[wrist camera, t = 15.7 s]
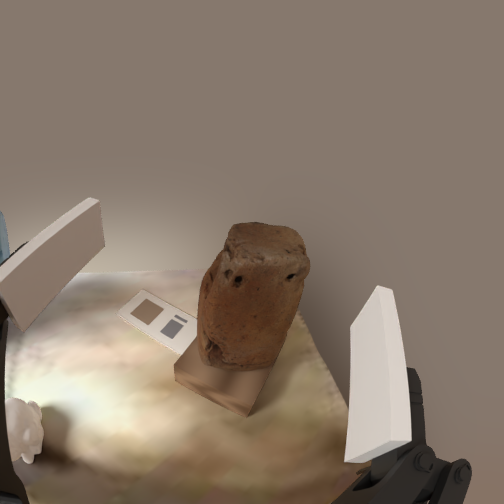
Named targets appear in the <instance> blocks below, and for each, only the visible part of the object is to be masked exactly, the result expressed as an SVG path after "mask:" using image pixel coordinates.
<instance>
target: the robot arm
mask: <svg viewBox="0 0 504 504" xmlns="http://www.w3.org/2000/svg"><path fill="white" fill-rule="evenodd" d="M104 247H105V242H104V236H103V227H102V218H101V208H100V200H96V199H93V198H90V197H89V198H87V199H86V200H84V201H83V202H81V203H80V204H79V205H77V206H76V207H74V208H73V209H71V210H70V211H69V212H67V213H66V214H64V215H63V216H62V217H60V218H59V219H58V220H56V221H55V222H53V223H52V224H51V225H49V226H48V227H47V228H46V229H44V230H43V231H42V232H40V233H39V234H38V235H37V236H35V237H34V238H33V239H32V240H30V241H28V242H26V243H25V244H23V245H21V246H20V247H19V248H18V249H17V250H15V252H13V253H12V254H11V255H10V250H9V242H8V235H7V229H6V224H5V220H4V216H3V214H2V212H0V504H29V501H28V497H27V494H26V490H25V488H24V485H23V483H22V481H21V480H20V479H19V477H18V476H17V475H16V473H15V472H14V469H13V465H12V459H11V454H10V448H9V441H8V433H7V424H6V412H5V354H6V341H7V332H8V321H7V318H8V316H9V317H10V318H11V320H12V322H13V323H14V325H15V326H16V327H17V328H19V329H20V330H21V331H22V332H23V333H24V332H25V331H26V329H27V328H28V327H29V326H30V325H31V323H32V322H33V321H34V320H35V319H36V318H37V316H38V315H39V314H40V313H41V312H42V311H43V309H44V308H45V307H46V306H47V305H48V304H49V303H50V302H51V301H52V299H53V298H54V297H55V296H56V295H57V294H58V293H59V292H60V291H61V290H62V289H63V288H64V287H65V285H66V284H67V283H68V282H69V281H70V280H71V279H72V278H73V277H74V276H75V275H76V274H77V273H78V272H79V271H80V270H81V269H82V268H83V267H84V266H85V265H86V264H87V263H88V262H89V261H90V260H91V259H92V258H93V257H94V256H95V255H96V254H97V253H99V252H100V251H101V250H102V249H103V248H104ZM350 332H351V369H350V373H351V374H350V399H349V400H350V401H349V416H348V430H347V441H346V450H345V459H344V462H353V463H364V462H366V461H369V460H371V459H372V465H371V466H369V467H367V468H364V469H361V470H359V471H358V472H356V474H357V475H358V474H361V473H363V474H362V475H361V476H360V477H359V478H358V479H357V480H356V481H355V482H354V483H353V484H352V485H351V486H350V487H349V488H348V489H347V490H345V491H344V492H343V493H342V494H341V495H340V496H339V497H338V498H337V499H336V500H335V501H333V502H332V503H331V504H427V502H428V500H430V501H429V503H428V504H463V501H464V498H465V495H466V492H467V489H468V487H469V484H470V480H471V475H472V470H471V466H470V463H469V462H468V461H467V460H466V459H459V460H457V461H454V462H452V463H450V462H447V461H443V460H441V459H439V458H436V456H435V453H434V451H433V450H432V448H431V447H429V446H427V445H426V439H425V421H424V409H423V405H422V404H423V398H422V395H421V394H422V390H421V382H420V379H419V377H418V374H417V372H416V370H415V369H413V368H408V367H406V362H405V355H404V348H403V342H402V336H401V330H400V325H399V320H398V315H397V310H396V305H395V300H394V295H393V291H392V290H391V289H388V288H385V287H381V286H379V285H377V287H376V288H375V290H374V291H373V293H372V295H371V296H370V298H369V299H368V301H367V303H366V304H365V306H364V307H363V309H362V310H361V312H360V313H359V315H358V316H357V318H356V319H355V321H354V322H353V323H352V325H351V327H350Z"/></svg>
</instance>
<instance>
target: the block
mask: <svg viewBox="0 0 504 504" xmlns="http://www.w3.org/2000/svg"><path fill="white" fill-rule="evenodd" d="M309 270H310V260H309V258H308V257H307V255H306V248H305V245H304V241H303V239H302V237H301V236H300V235H299V234H298V232H296V231H295V230H293V229H291V228H289V227H285V226H273V225H268V224H264V223H258V222H250V223H239V224H234V225H233V226H232V227H231V229H230V231H229V233H228V238H227V239H226V242H225V245H224V249H223V250H222V251H221V252H220V253H219V254H218V256H217V257H216V259H215V261H214V262H213V264H212V266H211V267H210V268H209V269H208V270H207V272H206V274H205V276H204V277H203V280H202V284H201V288H200V295H199V302H198V315H197V343H198V351H199V355H200V358H201V360H202V362H203V364H204V365H207V366H212V367H215V368H219V369H222V370H228V371H252V370H257V369H262V368H265V367H267V366H269V365H270V364H271V363H272V362H273V360H274V359H275V358H276V356H277V354H278V353H279V351H280V349H281V347H282V345H283V343H284V341H285V339H286V336H287V331H288V330H289V328H290V325H291V324H292V321H293V319H294V316H295V314H296V311H297V308H298V305H299V302H300V299H301V295H302V292H303V288H304V279H305V278H306V276H307V275H308V273H309Z"/></svg>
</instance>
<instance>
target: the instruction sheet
mask: <svg viewBox="0 0 504 504" xmlns="http://www.w3.org/2000/svg"><path fill="white" fill-rule="evenodd" d="M116 314H117V315H118V316H119V317H121V318H122V319H124V320H125V321H127V322H128V323H130V324H131V325H133V326H134V327H136V328H137V329H139V330H140V331H142V332H143V333H145V334H146V335H148V336H150V337H151V338H153V339H154V340H156V341H158V342H159V343H161V344H163V345H164V346H166V347H168V348H169V349H171V350H173V351H174V352H176V353H178V354H179V355H182V354H183V353H184V351H185V350H186V349H187V348H188V346H189V345H190V344H191V343H192V341H193V340H194V339H195V338H196V336H197V319H196V318H194V317H192V316H190V315H189V314H187V313H185V312H183V311H181V310H179V309H177V308H176V307H174V306H172V305H170V304H168V303H167V302H165V301H163V300H161V299H159V298H158V297H156V296H154V295H152V294H151V293H149V292H147V291H146V290H144V289H142V290H141V291H140V292H138V293H137V294H136V295H135V296H134V297H133V298H132V299H131V300H129V301H128V302H127V303H126V304H125V305H124V306H123V307H122V308H121V309H119V310H118V311H117V312H116Z"/></svg>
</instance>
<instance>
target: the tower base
mask: <svg viewBox="0 0 504 504" xmlns="http://www.w3.org/2000/svg"><path fill="white" fill-rule="evenodd" d="M284 342H285V341H284ZM283 344H284V343H283ZM282 346H283V345H282ZM281 348H282V347H281ZM280 350H281V349H280ZM279 352H280V351H279ZM278 354H279V353H278ZM278 354H277V356H276V358H275V359H274V360H273V362H272V363H271V364H270V365H269V366H267V367H265V368H262V369H257V370H252V371H228V370H222V369H219V368H215V367H212V366H207V365H204V364H203V362H202V360H201V358H200V355H199V351H198V343H197V336H196V338H195V339H194V340H193V341H192V343H191V344H190V345H189V346H188V348H187V349H186V350H185V351H184V353H183V354H182V355H181V357H180V358H179V359H178V360H177V362H176V363H175V364H174V373H175V381H177V382H178V383H180V384H182V385H184V386H185V387H187V388H189V389H191V390H192V391H194V392H196V393H198V394H200V395H202V396H203V397H205V398H207V399H209V400H211V401H213V402H215V403H217V404H219V405H221V406H223V407H225V408H227V409H229V410H231V411H233V412H235V413H237V414H239V415H242V416H244V417H246V418H247V416H248V414H249V412H250V410H251V408H252V407H253V405H254V403H255V401H256V399H257V397H258V395H259V393H260V391H261V389H262V387H263V385H264V383H265V381H266V379H267V377H268V375H269V373H270V371H271V369H272V367H273V365H274V363H275V361H276V359H277V357H278Z"/></svg>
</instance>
